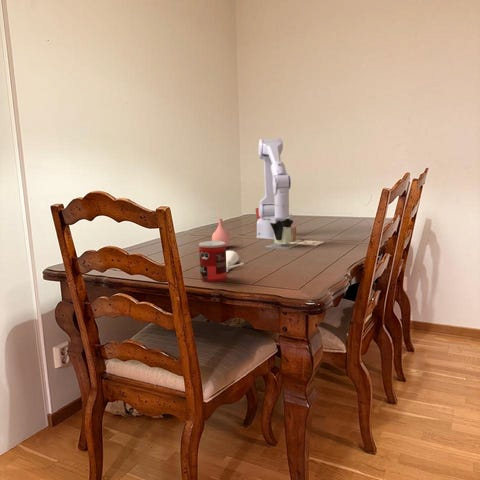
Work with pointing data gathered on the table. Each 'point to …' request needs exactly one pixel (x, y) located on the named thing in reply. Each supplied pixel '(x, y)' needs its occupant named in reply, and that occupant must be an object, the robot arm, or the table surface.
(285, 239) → the sage block
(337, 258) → the table surface
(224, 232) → the perfume bottle
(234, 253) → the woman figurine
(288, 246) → the light grey square plate
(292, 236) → the walnut block
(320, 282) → the table surface
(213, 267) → the canned food
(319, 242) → the tile
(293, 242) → the plain tile
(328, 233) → the table surface
